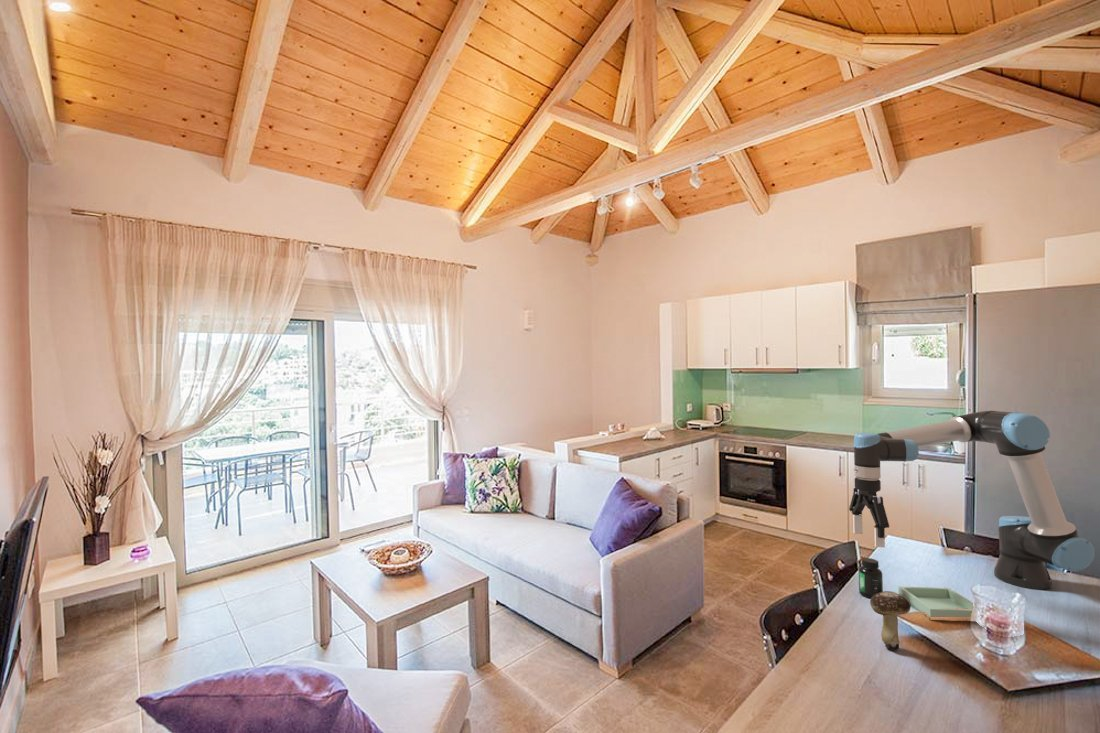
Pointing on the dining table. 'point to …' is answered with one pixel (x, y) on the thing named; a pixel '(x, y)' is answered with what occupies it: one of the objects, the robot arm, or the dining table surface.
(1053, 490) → the robot arm
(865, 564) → the supplement bottle
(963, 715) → the dining table surface
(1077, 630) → the dining table surface
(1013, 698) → the dining table surface
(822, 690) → the dining table surface
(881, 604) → the mushroom
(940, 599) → the bin
